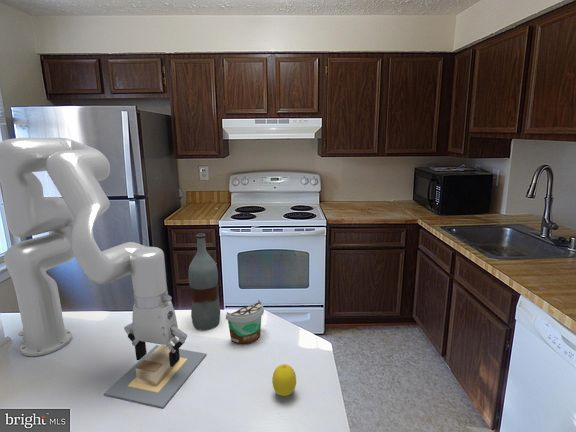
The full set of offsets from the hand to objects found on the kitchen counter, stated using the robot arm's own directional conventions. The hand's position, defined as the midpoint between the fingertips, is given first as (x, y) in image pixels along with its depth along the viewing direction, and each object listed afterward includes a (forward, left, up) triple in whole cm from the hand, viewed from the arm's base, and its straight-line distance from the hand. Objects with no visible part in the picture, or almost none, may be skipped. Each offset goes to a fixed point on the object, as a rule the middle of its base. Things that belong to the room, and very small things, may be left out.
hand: (158, 360), depth 88 cm
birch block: (0, 0, -3) cm, 3 cm away
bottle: (0, +25, -4) cm, 25 cm away
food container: (+17, +20, -4) cm, 27 cm away
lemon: (+33, +1, -4) cm, 33 cm away
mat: (0, 0, -4) cm, 4 cm away
